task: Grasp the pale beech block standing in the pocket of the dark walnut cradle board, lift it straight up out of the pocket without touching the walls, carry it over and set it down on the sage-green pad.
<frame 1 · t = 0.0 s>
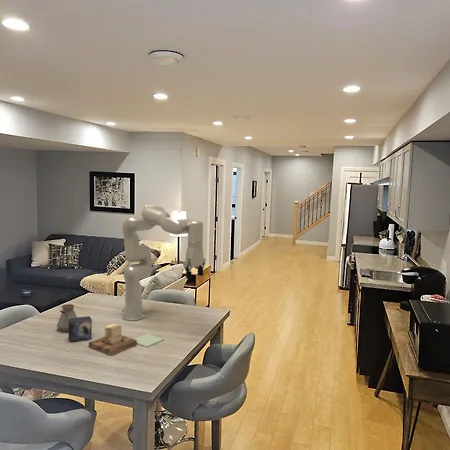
hand: (194, 277, 215), 31 cm above the table, fingers open, 9 cm apart
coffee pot: (66, 333, 216), on the table
small box: (80, 339, 208), on the table
beech block: (113, 336, 199), in the cradle board
cradle board: (113, 346, 200), on the table
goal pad: (147, 340, 208), on the table
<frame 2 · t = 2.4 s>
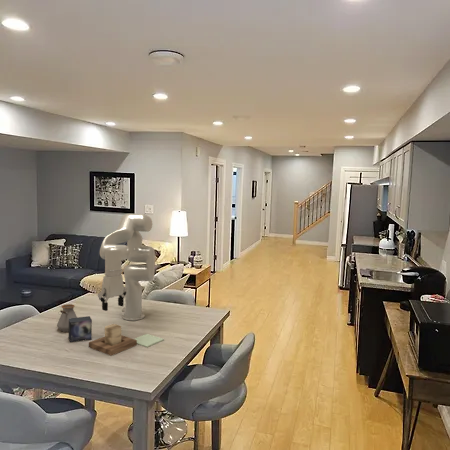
hand: (113, 308, 197), 19 cm above the table, fingers open, 9 cm apart
nothing on the table moved.
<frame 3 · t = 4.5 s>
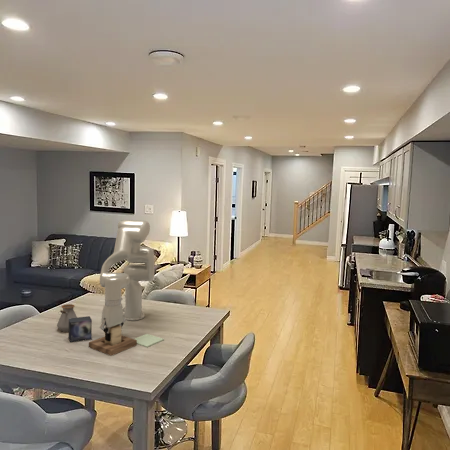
hand: (113, 338, 199), 4 cm above the table, fingers closed on beech block, 5 cm apart
beech block: (113, 336, 199), in the cradle board, touching gripper
everything else where it was.
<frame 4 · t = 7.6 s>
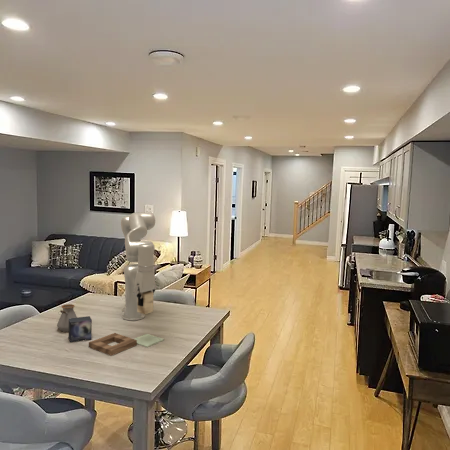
hand: (145, 303, 205), 19 cm above the table, fingers closed on beech block, 5 cm apart
beech block: (145, 302, 205), point 20 cm above the table, touching gripper
everything else where it was.
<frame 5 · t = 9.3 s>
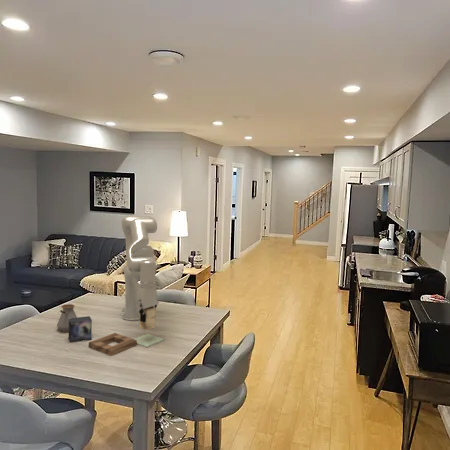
hand: (147, 319, 206), 11 cm above the table, fingers closed on beech block, 5 cm apart
beech block: (147, 317, 206), point 12 cm above the table, touching gripper
everything else where it was.
when the fingers open (6 cm above the table, at t = 10.8 s): beech block drops 1 cm, resting on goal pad.
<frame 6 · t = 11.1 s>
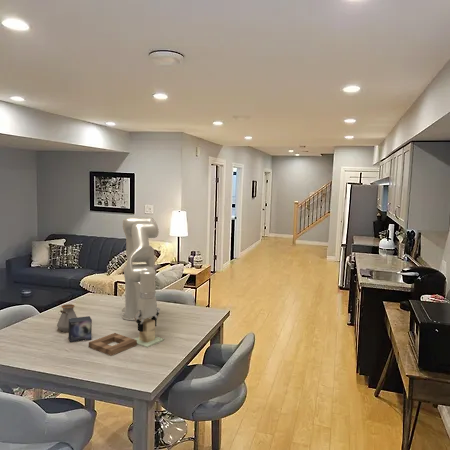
hand: (147, 328, 207), 6 cm above the table, fingers open, 9 cm apart
beech block: (147, 330, 207), on the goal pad, point 6 cm above the table
everything else where it was.
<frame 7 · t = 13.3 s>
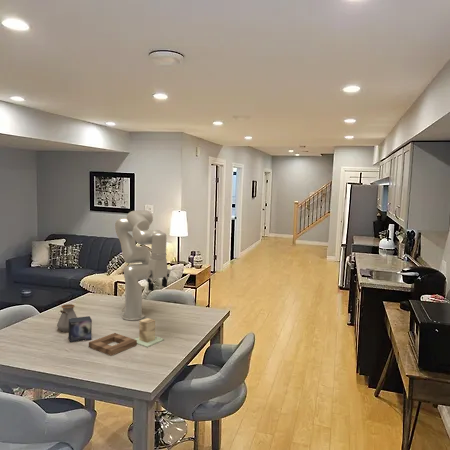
hand: (157, 288, 214), 25 cm above the table, fingers open, 9 cm apart
nothing on the table moved.
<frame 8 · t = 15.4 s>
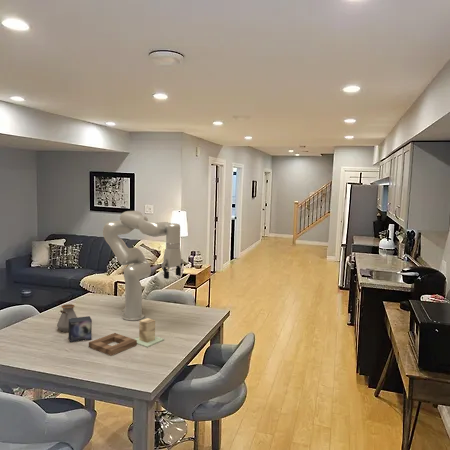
hand: (172, 276, 226), 28 cm above the table, fingers open, 9 cm apart
nothing on the table moved.
at the end: beech block inside the target area on the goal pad (0.0 cm from its centre), point 5.6 cm above the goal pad's base; beech block tilted 0°; the gripper is holding nothing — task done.
